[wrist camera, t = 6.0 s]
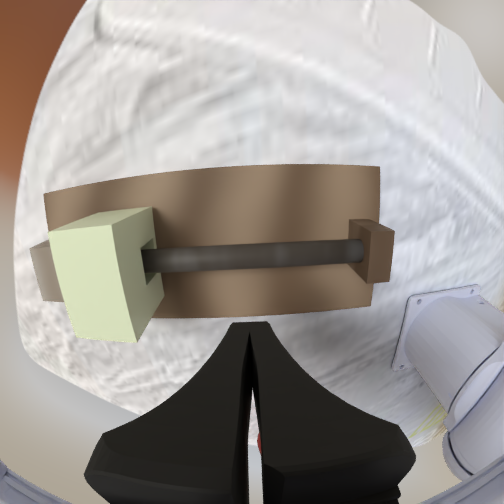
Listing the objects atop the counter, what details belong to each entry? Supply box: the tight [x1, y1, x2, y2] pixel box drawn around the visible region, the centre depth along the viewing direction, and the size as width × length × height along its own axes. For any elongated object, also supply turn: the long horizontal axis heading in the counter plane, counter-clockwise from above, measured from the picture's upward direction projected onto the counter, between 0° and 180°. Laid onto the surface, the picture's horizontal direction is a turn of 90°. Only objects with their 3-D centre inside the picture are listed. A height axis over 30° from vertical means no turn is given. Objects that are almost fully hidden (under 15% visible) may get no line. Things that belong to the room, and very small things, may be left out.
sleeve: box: [48, 206, 165, 343], centre depth 14 cm, size 4×6×6 cm, turn 3°
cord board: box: [30, 164, 395, 318], centre depth 16 cm, size 24×10×5 cm, turn 93°
